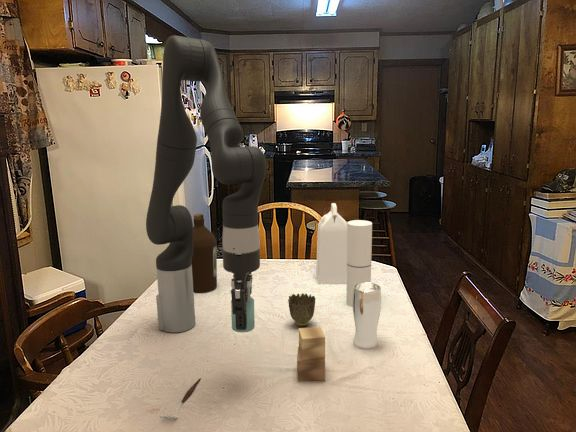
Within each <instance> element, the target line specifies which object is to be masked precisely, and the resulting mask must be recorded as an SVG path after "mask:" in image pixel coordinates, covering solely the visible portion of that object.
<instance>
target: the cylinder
mask: <svg viewBox="0 0 576 432" xmlns="http://www.w3.org/2000/svg"><path fill="white" fill-rule="evenodd" d="M245 297H246V296H245ZM237 307H242V306H237ZM230 308H231V309H230V311H231V312H230V313H231V329H232V331H235V332H237V333H250V332H251V331H253V330H254V329H255V327H256V326H255V323H256V322H255V299H254V298H253V297H252V296H250V299H249V301H248V302H247V328H246V330H237V329H236V317H235V314H233V312H232V310H233V309H232V299H230Z"/></svg>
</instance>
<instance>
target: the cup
mask: <svg viewBox="0 0 576 432" xmlns="http://www.w3.org/2000/svg"><path fill="white" fill-rule="evenodd" d="M287 301H288V302H287V303H288V308H289V315H290V316H291V319H292V320H293V321H295V323H294V324H295V326H296V327H298V328H307V327H308V326H309V323H310V321H311V320H312V318H313V316H314V314H315V309H316V308H315V307H316V297H315V295H312V294H308V293H301V294H300V293H297V294H294V293H291V295H289V296H288V299H287Z"/></svg>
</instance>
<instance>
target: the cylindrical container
mask: <svg viewBox="0 0 576 432" xmlns="http://www.w3.org/2000/svg"><path fill="white" fill-rule="evenodd" d="M346 222H347V284H346V302H345V303H346V305H347V306H349V307H351V308H353V306H352V301H353V289H354V285H355V284H357V283H362V282H370V283H372V247H373V246H372V245H373V244H372V243H373V222H372V221H369V220H364V219H362V220H361V219H353V220H349V221H346Z"/></svg>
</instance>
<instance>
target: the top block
mask: <svg viewBox="0 0 576 432" xmlns="http://www.w3.org/2000/svg"><path fill="white" fill-rule="evenodd" d="M298 347H299V351H300V354H301V358H302V360H311V359H323V358H325V359H326V336H325V333H324V332H323V329H322V327H321V326H314V327H298Z"/></svg>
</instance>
